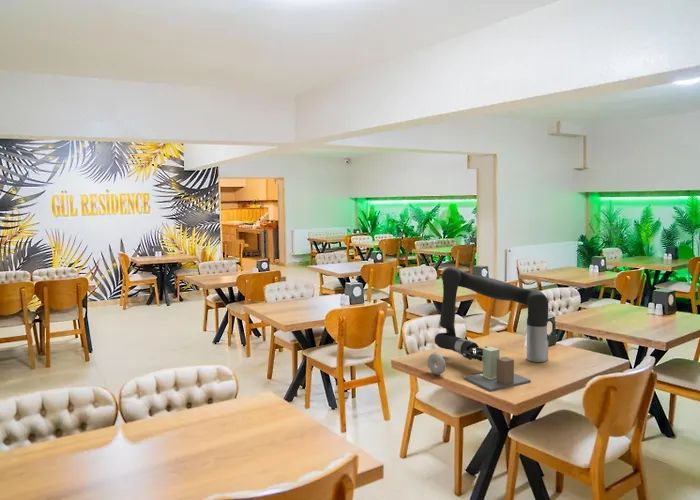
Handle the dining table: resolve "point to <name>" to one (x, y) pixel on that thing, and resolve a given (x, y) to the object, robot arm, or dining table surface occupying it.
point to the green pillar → (490, 361)
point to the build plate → (494, 382)
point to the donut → (433, 366)
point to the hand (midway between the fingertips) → (489, 357)
